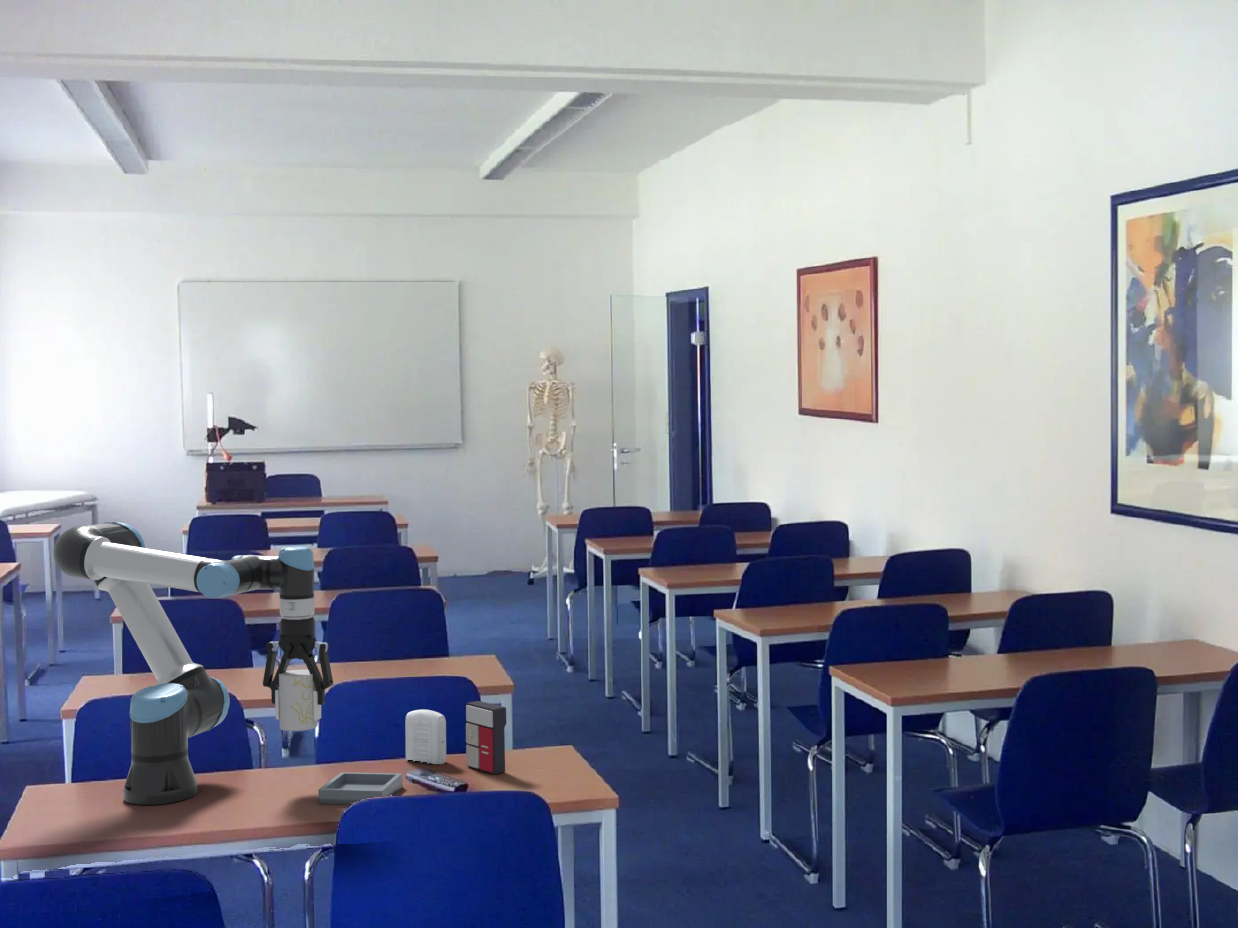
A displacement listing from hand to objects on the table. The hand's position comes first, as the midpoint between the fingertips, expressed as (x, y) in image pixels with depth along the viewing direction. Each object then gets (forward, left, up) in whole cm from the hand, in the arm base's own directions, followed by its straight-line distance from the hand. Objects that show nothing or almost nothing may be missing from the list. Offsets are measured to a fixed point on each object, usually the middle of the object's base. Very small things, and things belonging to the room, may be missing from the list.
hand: (298, 718), depth 289 cm
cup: (0, 0, -2) cm, 2 cm away
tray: (+16, -6, -15) cm, 23 cm away
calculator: (+38, +17, -15) cm, 45 cm away
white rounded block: (+22, +23, -15) cm, 36 cm away
